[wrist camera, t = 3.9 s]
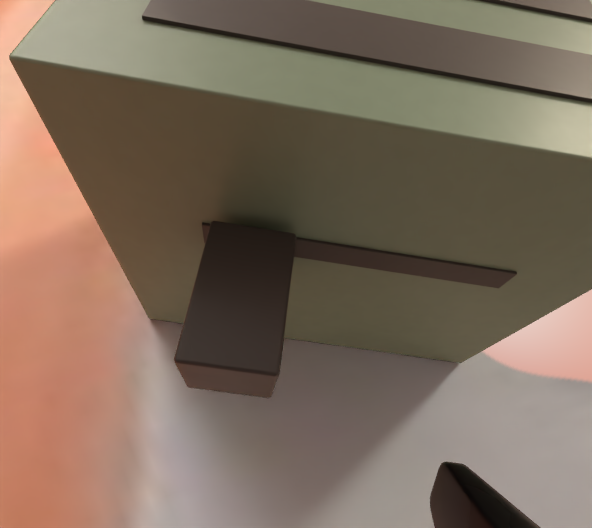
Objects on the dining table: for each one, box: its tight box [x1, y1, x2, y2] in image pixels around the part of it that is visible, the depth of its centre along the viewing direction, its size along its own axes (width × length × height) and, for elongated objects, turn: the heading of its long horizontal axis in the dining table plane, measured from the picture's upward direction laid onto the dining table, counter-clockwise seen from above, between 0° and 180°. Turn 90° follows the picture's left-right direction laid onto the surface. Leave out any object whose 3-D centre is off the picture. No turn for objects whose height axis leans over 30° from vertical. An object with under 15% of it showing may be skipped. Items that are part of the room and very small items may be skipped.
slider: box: [174, 221, 296, 398], centre depth 11 cm, size 4×2×3 cm, turn 174°
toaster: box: [9, 0, 592, 363], centre depth 16 cm, size 10×16×14 cm, turn 84°
